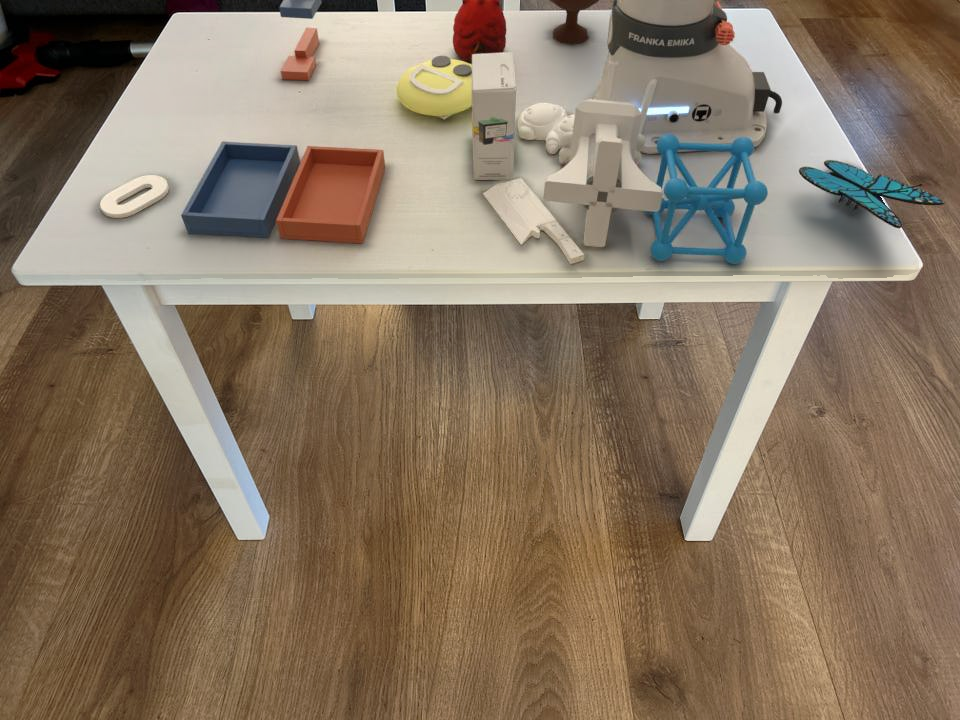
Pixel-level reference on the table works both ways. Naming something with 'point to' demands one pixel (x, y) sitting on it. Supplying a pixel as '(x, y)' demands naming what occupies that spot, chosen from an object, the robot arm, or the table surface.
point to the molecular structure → (705, 198)
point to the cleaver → (529, 216)
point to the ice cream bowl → (572, 21)
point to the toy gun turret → (603, 164)
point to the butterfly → (866, 189)
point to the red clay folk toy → (479, 29)
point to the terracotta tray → (332, 195)
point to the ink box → (493, 115)
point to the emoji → (437, 87)
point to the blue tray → (242, 190)
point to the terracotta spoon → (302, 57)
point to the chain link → (132, 207)
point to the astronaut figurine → (545, 124)
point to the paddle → (299, 8)
